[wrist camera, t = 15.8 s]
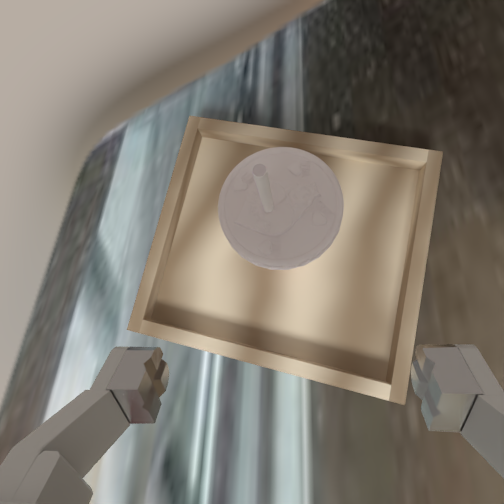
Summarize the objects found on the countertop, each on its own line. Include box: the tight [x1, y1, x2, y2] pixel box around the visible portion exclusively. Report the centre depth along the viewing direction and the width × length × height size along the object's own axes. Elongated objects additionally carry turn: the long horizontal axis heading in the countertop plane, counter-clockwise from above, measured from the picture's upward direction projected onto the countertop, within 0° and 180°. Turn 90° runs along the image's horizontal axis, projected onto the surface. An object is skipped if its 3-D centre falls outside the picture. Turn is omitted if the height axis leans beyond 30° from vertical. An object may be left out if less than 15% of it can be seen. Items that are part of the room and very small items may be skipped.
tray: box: [127, 116, 443, 405], centre depth 25 cm, size 20×18×2 cm
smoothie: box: [218, 147, 344, 270], centre depth 19 cm, size 6×6×14 cm
